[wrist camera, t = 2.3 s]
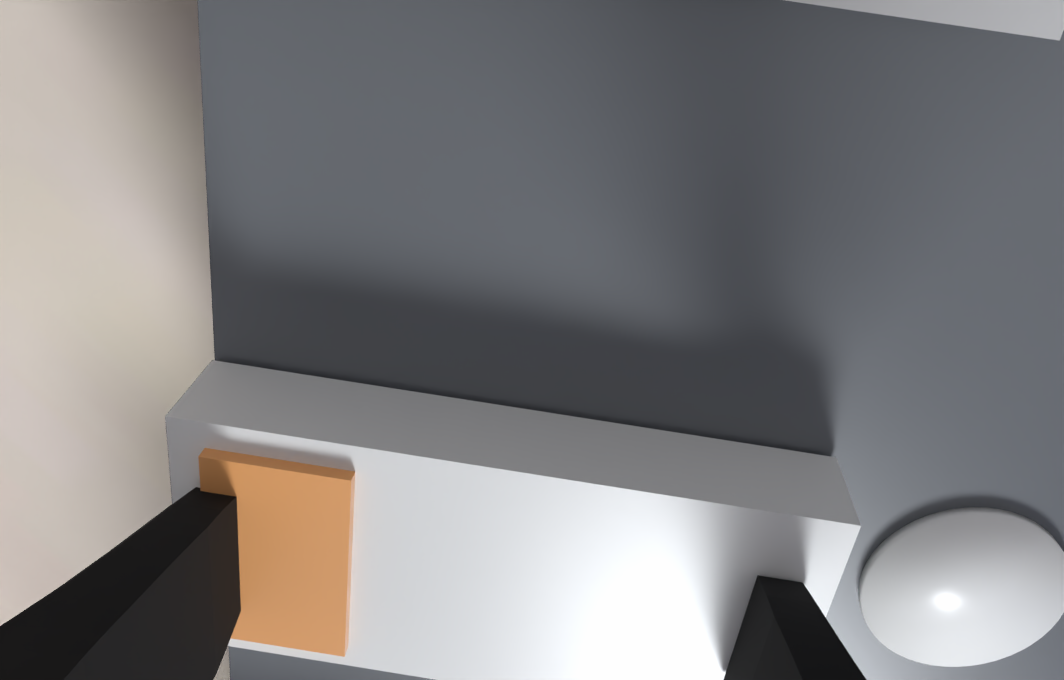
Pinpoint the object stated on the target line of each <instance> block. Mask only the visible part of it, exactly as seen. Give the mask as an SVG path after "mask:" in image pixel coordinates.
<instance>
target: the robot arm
mask: <svg viewBox="0 0 1064 680" xmlns="http://www.w3.org/2000/svg"><path fill="white" fill-rule="evenodd" d="M240 612H241V598H240V572H239V546H238V520H237V497H236V496H229V495H223V494H217V493H210V492H204V491H200V488H198V487H195V488H194V489H192V490H191V491H190V492H188V493H187V494H185V495H184V496H183V497H181V498H180V499H179V500H177V501H176V502H174V503H173V504H172V505H170V506H169V507H168V508H166V509H165V510H164V511H162V512H161V513H160V514H158V515H157V516H156V517H154V518H153V519H152V520H150V521H149V522H148V523H147V524H145V525H144V526H143V527H141V528H140V529H139V530H137V531H136V532H135V533H133V534H132V535H131V536H129V537H128V538H127V539H125V540H124V541H123V542H121V543H120V544H119V545H117V546H116V547H115V548H113V549H112V550H110V551H109V552H108V553H106V554H105V555H104V556H102V557H101V558H99V559H98V560H97V561H95V562H94V563H92V564H91V565H90V566H88V567H87V568H85V569H84V570H83V571H81V572H80V573H78V574H77V575H76V576H74V577H73V578H72V579H70V580H69V581H67V582H66V583H65V584H63V585H62V586H60V587H59V588H57V589H56V590H54V591H53V592H52V593H50V594H48V595H47V596H45V597H44V598H42V599H41V600H39V601H38V602H36V603H35V604H33V605H32V606H30V607H29V608H27V609H26V610H24V611H23V612H21V613H20V614H18V615H17V616H15V617H14V618H12V619H10V620H9V621H7V622H6V623H4V624H3V625H1V626H0V680H213V679H214V677H215V675H216V673H217V670H218V668H219V666H220V663H221V661H222V658H223V656H224V653H225V651H226V648H227V646H228V644H229V641H230V638H231V636H232V633H233V631H234V628H235V625H236V623H237V620H238V617H239V615H240ZM723 680H867V679H866V678H865V677H864V675H863V674H862V672H861V671H860V669H859V668H858V666H857V665H856V663H855V662H854V660H853V659H852V657H851V656H850V654H849V653H848V651H847V650H846V648H845V646H844V645H843V643H842V642H841V640H840V639H839V637H838V636H837V634H836V633H835V631H834V630H833V628H832V626H831V625H830V623H829V622H828V620H827V619H826V617H825V616H824V614H823V613H822V611H821V609H820V608H819V606H818V605H817V603H816V602H815V600H814V599H813V597H812V596H811V594H810V593H809V591H808V590H807V588H806V587H805V585H804V584H803V582H797V581H791V580H784V579H778V578H772V577H765V576H759V575H757V578H756V581H755V585H754V588H753V591H752V594H751V597H750V600H749V603H748V606H747V609H746V612H745V615H744V618H743V621H742V624H741V627H740V630H739V633H738V637H737V640H736V643H735V646H734V649H733V652H732V655H731V658H730V661H729V664H728V667H727V670H726V673H725V676H724V679H723Z"/></svg>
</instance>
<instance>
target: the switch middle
mask: <svg viewBox="0 0 1064 680" xmlns="http://www.w3.org/2000/svg"><path fill="white" fill-rule="evenodd" d="M165 420H166V432H167V445H168V457H169V469H170V481H171V494H172V504H173V503H174V502H176V501H177V500H179V499H180V498H181V497H183V496H184V495H185V494H187V493H188V492H190V491H191V490H192V489H194V488H195V487H198V488H200V491H204V492H210V493H217V494H223V495H229V496H236V497H237V520H238V546H239V572H240V598H241V612H240V615H239V617H238V620H237V623H236V625H235V628H234V631H233V633H232V636H231V638H230V641H229V644H228V646H231V647H237V648H243V649H250V650H256V651H262V652H268V653H274V654H280V655H287V656H293V657H299V658H305V659H311V660H317V661H324V662H330V663H336V664H342V665H348V666H354V667H361V668H367V669H373V670H379V671H385V672H391V673H398V674H404V675H410V676H416V677H422V678H428V679H435V680H723V679H724V676H725V673H726V670H727V667H728V664H729V661H730V658H731V655H732V652H733V649H734V646H735V643H736V640H737V637H738V633H739V630H740V627H741V624H742V621H743V618H744V615H745V612H746V609H747V606H748V603H749V600H750V597H751V594H752V591H753V588H754V585H755V581H756V578H757V575H759V576H765V577H772V578H778V579H784V580H791V581H797V582H803V584H804V585H805V587H806V588H807V590H808V591H809V593H810V594H811V596H812V597H813V599H814V600H815V602H816V603H817V605H818V606H819V608H820V609H821V611H822V613H823V614H824V616H825V617H826V616H827V613H828V611H829V608H830V605H831V603H832V600H833V598H834V595H835V592H836V590H837V587H838V585H839V582H840V579H841V577H842V574H843V572H844V569H845V567H846V564H847V561H848V559H849V556H850V554H851V551H852V548H853V546H854V543H855V541H856V538H857V535H858V533H859V530H860V528H861V524H860V521H859V519H858V516H857V513H856V510H855V508H854V505H853V502H852V499H851V497H850V494H849V491H848V488H847V486H846V483H845V480H844V477H843V475H842V472H841V469H840V467H839V464H838V461H837V458H836V457H831V456H824V455H818V454H811V453H805V452H799V451H792V450H786V449H779V448H773V447H767V446H760V445H754V444H747V443H741V442H734V441H728V440H722V439H715V438H709V437H702V436H696V435H690V434H683V433H677V432H670V431H664V430H658V429H651V428H645V427H638V426H632V425H625V424H619V423H613V422H606V421H600V420H593V419H587V418H581V417H574V416H568V415H561V414H555V413H549V412H542V411H536V410H529V409H523V408H516V407H510V406H504V405H497V404H491V403H484V402H478V401H472V400H465V399H459V398H452V397H446V396H439V395H433V394H427V393H420V392H414V391H407V390H401V389H395V388H388V387H382V386H375V385H369V384H363V383H356V382H350V381H343V380H337V379H330V378H324V377H318V376H311V375H305V374H298V373H292V372H286V371H279V370H273V369H266V368H260V367H254V366H247V365H241V364H234V363H228V362H221V361H215V360H212V361H211V362H210V363H209V365H208V366H207V367H206V368H205V369H204V371H203V372H202V373H201V374H200V375H199V377H198V378H197V379H196V380H195V381H194V383H193V384H192V385H191V386H190V387H189V389H188V390H187V391H186V392H185V393H184V394H183V396H182V397H181V398H180V399H179V400H178V402H177V403H176V404H175V405H174V406H173V408H172V409H171V410H170V411H169V412H168V414H167V415H166V416H165Z"/></svg>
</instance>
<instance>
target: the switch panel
mask: <svg viewBox="0 0 1064 680" xmlns="http://www.w3.org/2000/svg"><path fill="white" fill-rule="evenodd" d="M198 21H199V41H200V62H201V83H202V103H203V124H204V145H205V165H206V186H207V207H208V227H209V248H210V269H211V289H212V310H213V331H214V351H215V361H221V362H228V363H234V364H241V365H247V366H254V367H260V368H266V369H273V370H279V371H286V372H292V373H298V374H305V375H311V376H318V377H324V378H330V379H337V380H343V381H350V382H356V383H363V384H369V385H375V386H382V387H388V388H395V389H401V390H407V391H414V392H420V393H427V394H433V395H439V396H446V397H452V398H459V399H465V400H472V401H478V402H484V403H491V404H497V405H504V406H510V407H516V408H523V409H529V410H536V411H542V412H549V413H555V414H561V415H568V416H574V417H581V418H587V419H593V420H600V421H606V422H613V423H619V424H625V425H632V426H638V427H645V428H651V429H658V430H664V431H670V432H677V433H683V434H690V435H696V436H702V437H709V438H715V439H722V440H728V441H734V442H741V443H747V444H754V445H760V446H767V447H773V448H779V449H786V450H792V451H799V452H805V453H811V454H818V455H824V456H831V457H836V458H837V461H838V464H839V467H840V469H841V472H842V475H843V477H844V480H845V483H846V486H847V488H848V491H849V494H850V497H851V499H852V502H853V505H854V508H855V510H856V513H857V516H858V519H859V521H860V524H861V528H860V530H859V533H858V535H857V538H856V541H855V543H854V546H853V548H852V551H851V554H850V556H849V559H848V561H847V564H846V567H845V569H844V572H843V574H842V577H841V579H840V582H839V585H838V587H837V590H836V592H835V595H834V598H833V600H832V603H831V605H830V608H829V611H828V613H827V616H826V619H827V620H828V622H829V623H830V625H831V626H832V628H833V630H834V631H835V633H836V634H837V636H838V637H839V639H840V640H841V642H842V643H843V645H844V646H845V648H846V650H847V651H848V653H849V654H850V656H851V657H852V659H853V660H854V662H855V663H856V665H857V666H858V668H859V669H860V671H861V672H862V674H863V675H864V677H865V678H866V679H867V680H1064V31H1063V33H1062V36H1061V38H1060V41H1059V40H1052V39H1045V38H1039V37H1032V36H1025V35H1018V34H1011V33H1004V32H997V31H991V30H984V29H977V28H970V27H963V26H956V25H950V24H943V23H936V22H929V21H922V20H915V19H908V18H902V17H895V16H888V15H881V14H874V13H867V12H861V11H854V10H847V9H840V8H833V7H826V6H820V5H813V4H806V3H799V2H792V1H785V0H198ZM229 662H230V680H435V679H428V678H422V677H416V676H410V675H404V674H398V673H391V672H385V671H379V670H373V669H367V668H361V667H354V666H348V665H342V664H336V663H330V662H324V661H317V660H311V659H305V658H299V657H293V656H287V655H280V654H274V653H268V652H262V651H256V650H250V649H243V648H237V647H231V646H229Z"/></svg>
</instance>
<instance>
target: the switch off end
mask: <svg viewBox="0 0 1064 680" xmlns="http://www.w3.org/2000/svg"><path fill="white" fill-rule="evenodd" d="M785 1H792V2H799V3H806V4H813V5H820V6H826V7H833V8H840V9H847V10H854V11H861V12H867V13H874V14H881V15H888V16H895V17H902V18H908V19H915V20H922V21H929V22H936V23H943V24H950V25H956V26H963V27H970V28H977V29H984V30H991V31H997V32H1004V33H1011V34H1018V35H1025V36H1032V37H1039V38H1045V39H1052V40H1059V41H1060V38H1061V36H1062V33H1063V31H1064V0H785Z"/></svg>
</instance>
